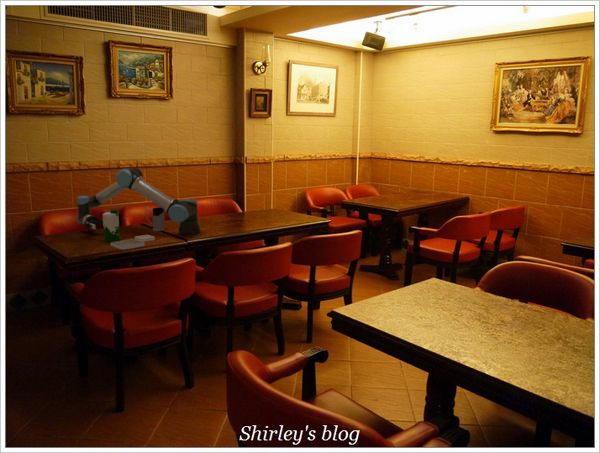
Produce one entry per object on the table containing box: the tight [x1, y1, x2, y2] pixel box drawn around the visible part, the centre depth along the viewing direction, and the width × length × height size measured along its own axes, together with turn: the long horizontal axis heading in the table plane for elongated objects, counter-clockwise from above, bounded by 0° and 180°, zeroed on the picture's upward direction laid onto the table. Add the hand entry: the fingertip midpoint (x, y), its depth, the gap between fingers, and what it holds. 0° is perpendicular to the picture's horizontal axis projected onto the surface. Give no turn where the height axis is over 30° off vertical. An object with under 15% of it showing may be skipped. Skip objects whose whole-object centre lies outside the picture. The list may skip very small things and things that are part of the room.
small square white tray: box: [134, 234, 156, 243], centre depth 330 cm, size 9×9×2 cm
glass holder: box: [145, 207, 166, 232], centre depth 362 cm, size 9×14×15 cm, turn 78°
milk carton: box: [102, 209, 120, 243], centre depth 325 cm, size 9×9×20 cm
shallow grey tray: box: [110, 238, 146, 251], centre depth 315 cm, size 15×15×2 cm
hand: (105, 225), depth 331 cm, fingers open, 13 cm apart
